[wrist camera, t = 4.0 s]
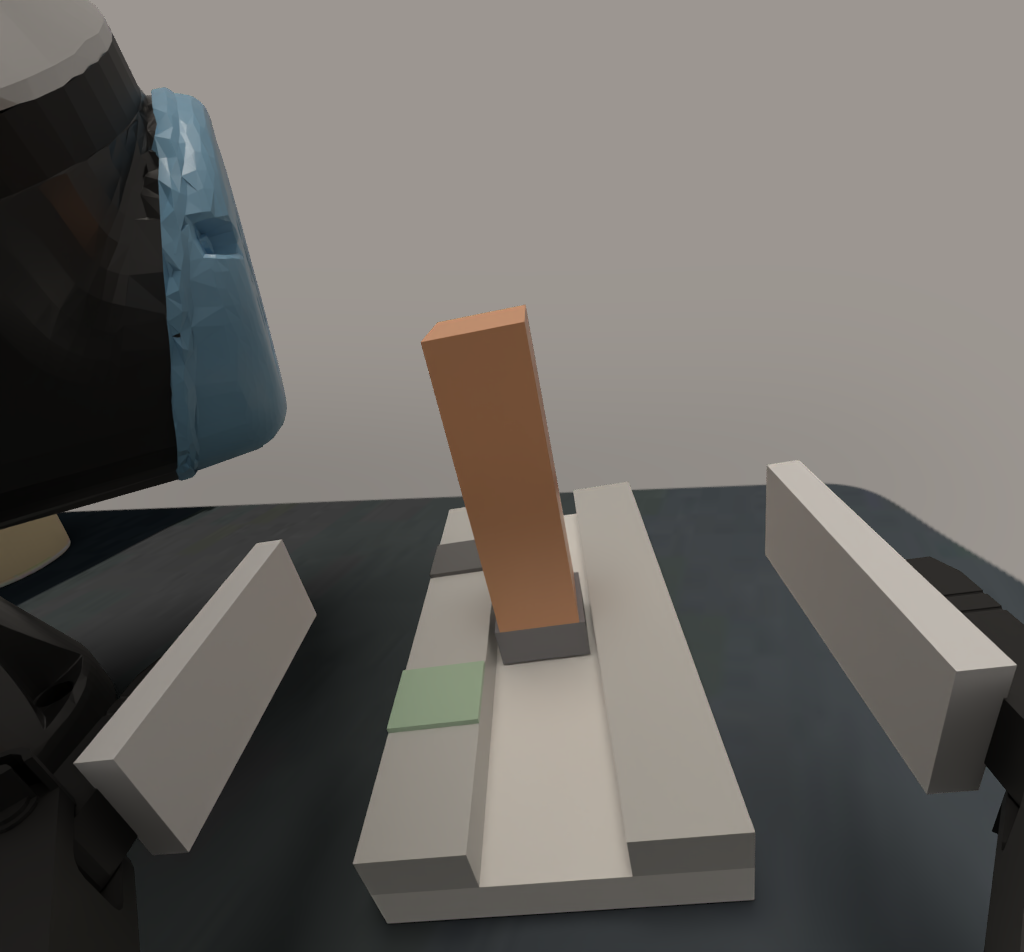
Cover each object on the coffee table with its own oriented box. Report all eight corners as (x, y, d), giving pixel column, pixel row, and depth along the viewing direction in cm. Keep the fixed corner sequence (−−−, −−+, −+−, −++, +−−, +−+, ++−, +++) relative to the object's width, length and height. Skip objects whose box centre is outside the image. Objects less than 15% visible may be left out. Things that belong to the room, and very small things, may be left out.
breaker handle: (590, 653, 20) (531, 320, 15) (503, 664, 20) (413, 343, 15) (583, 601, 23) (531, 303, 17) (506, 611, 23) (431, 323, 18)
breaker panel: (754, 899, 14) (755, 827, 12) (387, 923, 15) (350, 859, 13) (633, 527, 30) (627, 478, 28) (462, 553, 31) (448, 506, 30)
